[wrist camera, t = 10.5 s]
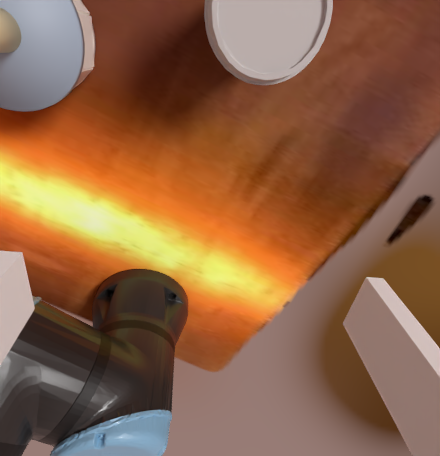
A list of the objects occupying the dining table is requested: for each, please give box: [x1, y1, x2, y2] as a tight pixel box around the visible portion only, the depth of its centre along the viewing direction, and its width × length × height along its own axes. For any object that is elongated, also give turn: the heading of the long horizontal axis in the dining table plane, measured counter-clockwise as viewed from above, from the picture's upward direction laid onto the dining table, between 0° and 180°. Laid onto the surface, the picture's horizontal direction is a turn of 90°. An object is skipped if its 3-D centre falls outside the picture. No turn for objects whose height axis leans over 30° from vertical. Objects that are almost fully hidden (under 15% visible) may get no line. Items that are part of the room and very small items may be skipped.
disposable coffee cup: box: [204, 0, 333, 85], centre depth 26 cm, size 10×10×12 cm
